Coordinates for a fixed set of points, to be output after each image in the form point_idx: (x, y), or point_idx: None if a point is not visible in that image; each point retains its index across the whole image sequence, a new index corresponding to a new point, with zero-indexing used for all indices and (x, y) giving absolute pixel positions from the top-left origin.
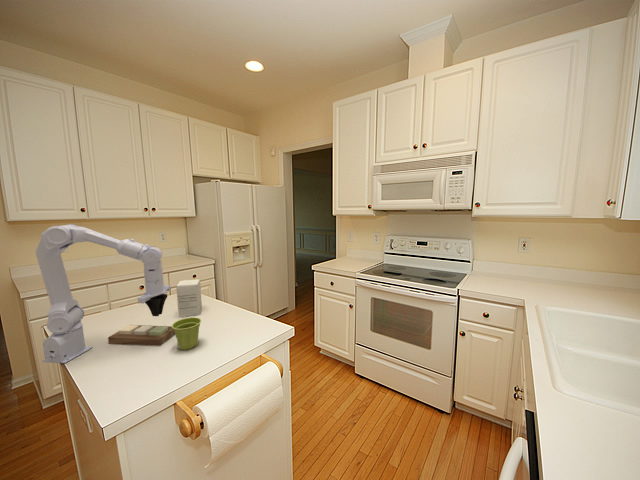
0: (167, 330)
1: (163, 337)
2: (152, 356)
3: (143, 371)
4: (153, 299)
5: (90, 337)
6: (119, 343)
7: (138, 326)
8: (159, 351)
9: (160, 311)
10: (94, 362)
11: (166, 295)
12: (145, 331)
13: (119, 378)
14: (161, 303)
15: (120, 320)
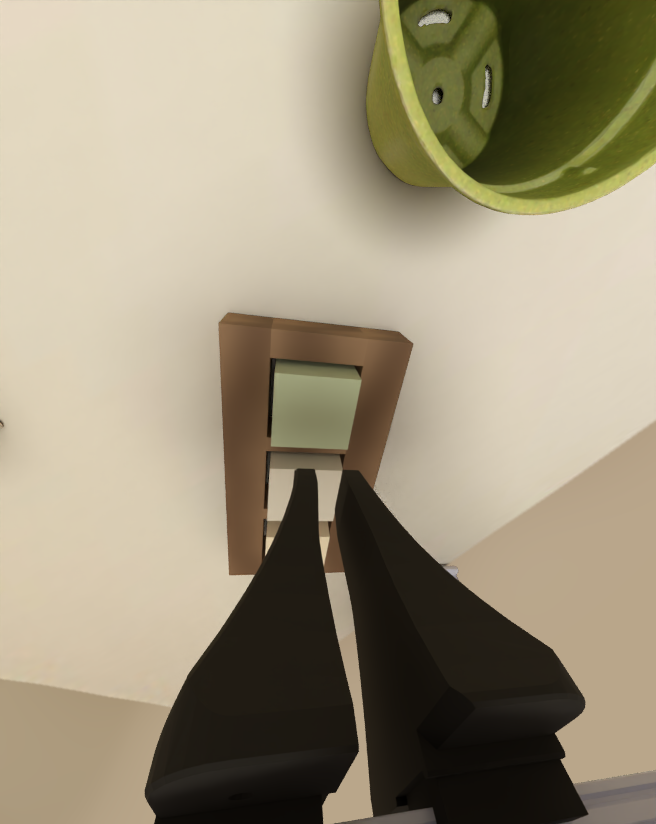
0: (284, 363)
1: (377, 337)
2: (504, 311)
3: (638, 275)
4: (534, 752)
5: None
6: None
7: (268, 533)
8: (461, 300)
9: (317, 492)
10: (474, 503)
11: (246, 744)
12: (338, 468)
13: (638, 353)
14: (321, 577)
15: (148, 626)
